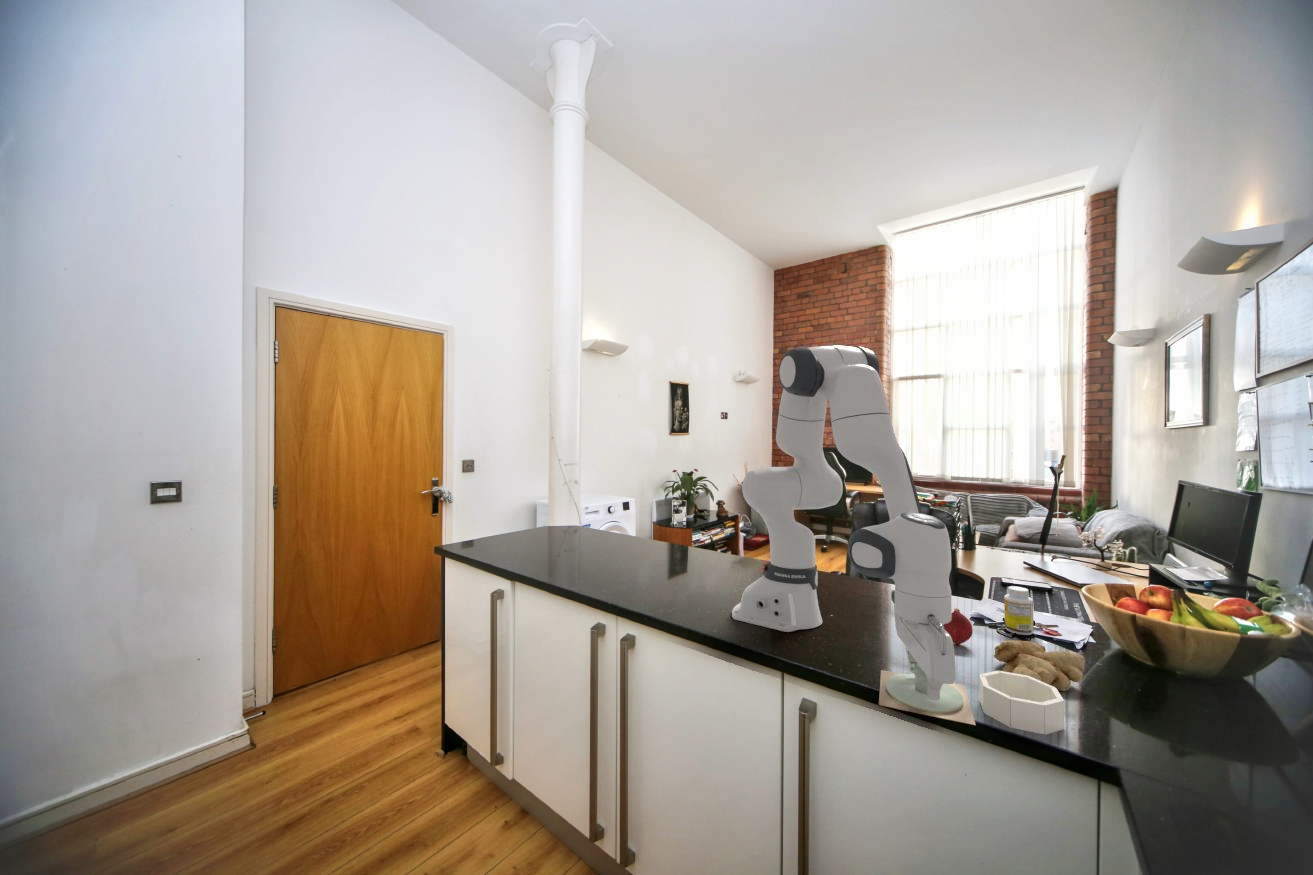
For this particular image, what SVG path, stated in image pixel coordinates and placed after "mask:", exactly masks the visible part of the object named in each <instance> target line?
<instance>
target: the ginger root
mask: <svg viewBox="0 0 1313 875" xmlns="http://www.w3.org/2000/svg"><path fill="white" fill-rule="evenodd" d="M1046 650H1047V648H1046V646H1044V645H1042V644H1039V643H1036V642H1034V641H1027V640H1014V639H1013V640H1005V641H1002V642H1000V644H999V645H997V646H995V647H994V655H993V658H994V659H996V660H997V661H999V662H1001V663H1005V664H1004V666H1003V667H1002V669H1001V671H1004V672H1010V673H1016V674H1022V675H1027V676H1030V677H1033V678H1035V679H1037V680H1039V681H1042V682H1044V683H1046V684H1049V685H1051V686H1053V687H1055V688H1056V689H1057V690H1058V691H1061V692H1067V691H1069V690H1070V689H1071V684H1072V683H1071V681H1072V682H1073V683H1074V682H1075V683H1080V682H1081V681H1082V680H1083V679H1084V676H1083V673H1082V671H1084V670H1085V664H1086V659H1085V657H1084V655H1082V654H1078V653H1075V652H1070V651H1061V650H1060V651H1058V650H1055V651H1046Z"/></svg>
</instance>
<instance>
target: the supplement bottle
mask: <svg viewBox="0 0 1313 875" xmlns="http://www.w3.org/2000/svg"><path fill="white" fill-rule="evenodd" d="M1003 600H1004V601H1003V602H1004V605H1003V606H1004V608H1003V609H1004V628H1005V630H1006V631H1008V632H1010V633H1013V634H1015V633H1016V635H1021V636H1030V635H1033V633H1034V600H1033V599H1032V598H1031V597H1030V592H1029V589H1028V588H1026V587H1022V586H1015V585H1011V586H1008V588H1007V594H1005V595H1004V599H1003Z"/></svg>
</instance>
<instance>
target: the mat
mask: <svg viewBox="0 0 1313 875" xmlns="http://www.w3.org/2000/svg"><path fill="white" fill-rule="evenodd" d="M899 674H901V673H900V672H899V673H898V672H893V671H890V670H889V671H888V670H883V669H881V670H880V677H879V678H880V681H879V683H880V684H879V695H878V696H879V698H878V706H881V707H887V708H892V709H894V710H901V711H905V712H911V713H914V714H919V715H923V716H924V715H925V716H929V717H935V718H938V719H943V720H948V721H953V722H957V723H963V724H967V725H972V726H976V725H977V724H976V721H975V717H974V714H973V711H972V706H971V703H970V700H969V696H968V692H967V690H966V686H965V684H959V683H955V682H954V683H953V684H949V685H951V686H952V687H954V688H955V689H957V690H958V691H959V692H960V693H961V695H962V697H963V707H962V708H961V709H960V710H958V711H956V712H952V713H931V712H926V711H921V710H918V709H914V708H911V707H909V706H906V705H904V704H902V703H900V702H898V701H897V700H895V699H894V698H893V697H891V696H890V695H889V693H888V692H887V690H886V681H887V679H888V678H890V677H892V676H895V675H899Z"/></svg>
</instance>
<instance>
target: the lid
mask: <svg viewBox="0 0 1313 875" xmlns="http://www.w3.org/2000/svg"><path fill="white" fill-rule="evenodd" d="M927 682H928V679H927V675H926V674H925V672H924V671H923V670H922V668H921V667H916V668H915V674H914V673H912V674H911V673H900V674H899V675H895V676H892V677H890V678H888V679H887V681H886V690H887V692H888V693H889V695H890V696H891V697H893V698H894V699H895V700H897V701H898V702H900V703H902V704H904V705H906V706H909V707H911V708H914V709H918V710H921V711H926V712H931V713H952V712H956V711H958V710H960V709H961V708H962V707H963V697H962V695H961V693H960V692H959V691H958V690H957V689H955V688H954V687H952V686H951V685H949V684H943V685H942V687H941V689H940V699H939V700H930V699H929V698H928V697H927V695H926V693H925V691H926V690H925V685H927Z"/></svg>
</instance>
